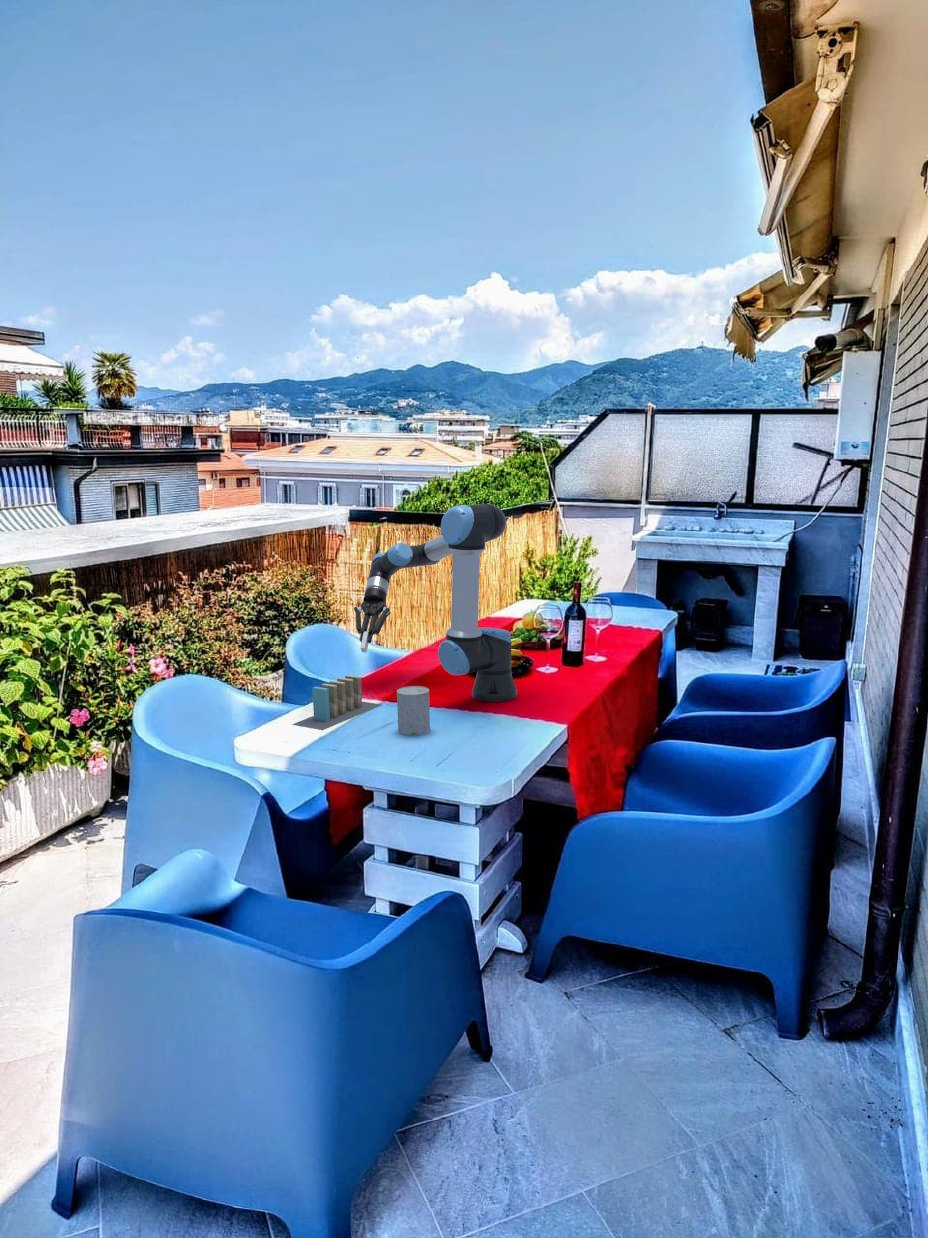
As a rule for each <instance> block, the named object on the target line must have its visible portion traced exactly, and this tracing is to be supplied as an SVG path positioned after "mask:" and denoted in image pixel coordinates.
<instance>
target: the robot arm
mask: <svg viewBox="0 0 928 1238" xmlns="http://www.w3.org/2000/svg"><path fill="white" fill-rule="evenodd" d="M506 526H507V518H506V516H505V513H504V511H502V509H501V508H500V507H498V506H497V505H495V504H491V503H479V504H461V505H456V506H452V507H450V508H448V510H447V511H446V512H445V513H444V514H443V516H442V518H441V523H440V535H438V536H437V537H434V538H432V539H430V540H428V541H426V542H424V543H422V544H416V545H409V544H407V543H404V542H398V543H395V544H394V545H392V546H391V547H390V548H389V549H388V550H387V551H386V552H380V553H376V554H374V556H373V558H372V560H371V564H370V570H369V575H368V579H367V583H366V588H365V592H364V595H363V600H362V603H361V604H360V606H354V607H353V611H354V612H355V627H356V632H357V633H358V634H359V635H360V636H359V642H360V647H359V649H360V650H361V653H367V652H368V647H369V644H371V643H372V641H373V636H374V635H378V634H380V631H381V630H382V628H383V625H384V624H385V622H386V620H387V618H388V617H389V615H391V613H392V612H391V609H390V608H389V607H386V605H385V604H386V599H387V594H388V591H389V588H390V587H389V586H390V581H391V577H392V576H393V575H394V574H396V573H397V572H399V570H401V569H408V568H410V569H411V568H415V567H417V568H418V567H425V566H426V567H427V566H432V565H437V564H439V562H440V561H441V560H442V559H444V558H446V557H449V556H451V555H452V570H451V571H452V575H451V578H452V579H451V611H450V613H451V614H450V621H451V622H450V623H451V624H450V627H449V628H448V629H447V630H446V632H445V640H443V641H442V642H441V643H440V644H439V645H438V650H437V651H438V652H437V653H438V654H437V655H438V661H439V663H440V665H441V666H442V667H443V669H444V670H445V671H446V672H447V673H448V674H450V675H453V676H461V675H467V674H470V673H473V672H476V676H475V680H474V684H473V687H472V688H471V697H472V698H473V699H474V700H478V701H480V702H481V701H482V702H487V703H489V702H490V703H496V702H497V703H498V702H500V703H501V702H506V701H511V700H514V699H515V698H517V697H518V690H517V687H516V683H515V680H514V678H513V675H512V643H513V642H512V637H511V636H512V634H511V632H510V631H509V630H506V629H502V628H495V627H478V626H479V625H478V623H479V604H480V603H479V599H480V598H479V597H480V569H481V568H480V567H481V562H480V561H481V554H482V553H483V552H484V550H486V543H487V542H488V543H489V542H490V541H492V540H493V541H494V540H496V539H498V538H499V537H501V536H502V535H503V533H504V532H505V530H506ZM362 611H363V614H364V615H363V620H362V617H361V615H362ZM379 615H380V616H379Z"/></svg>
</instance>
